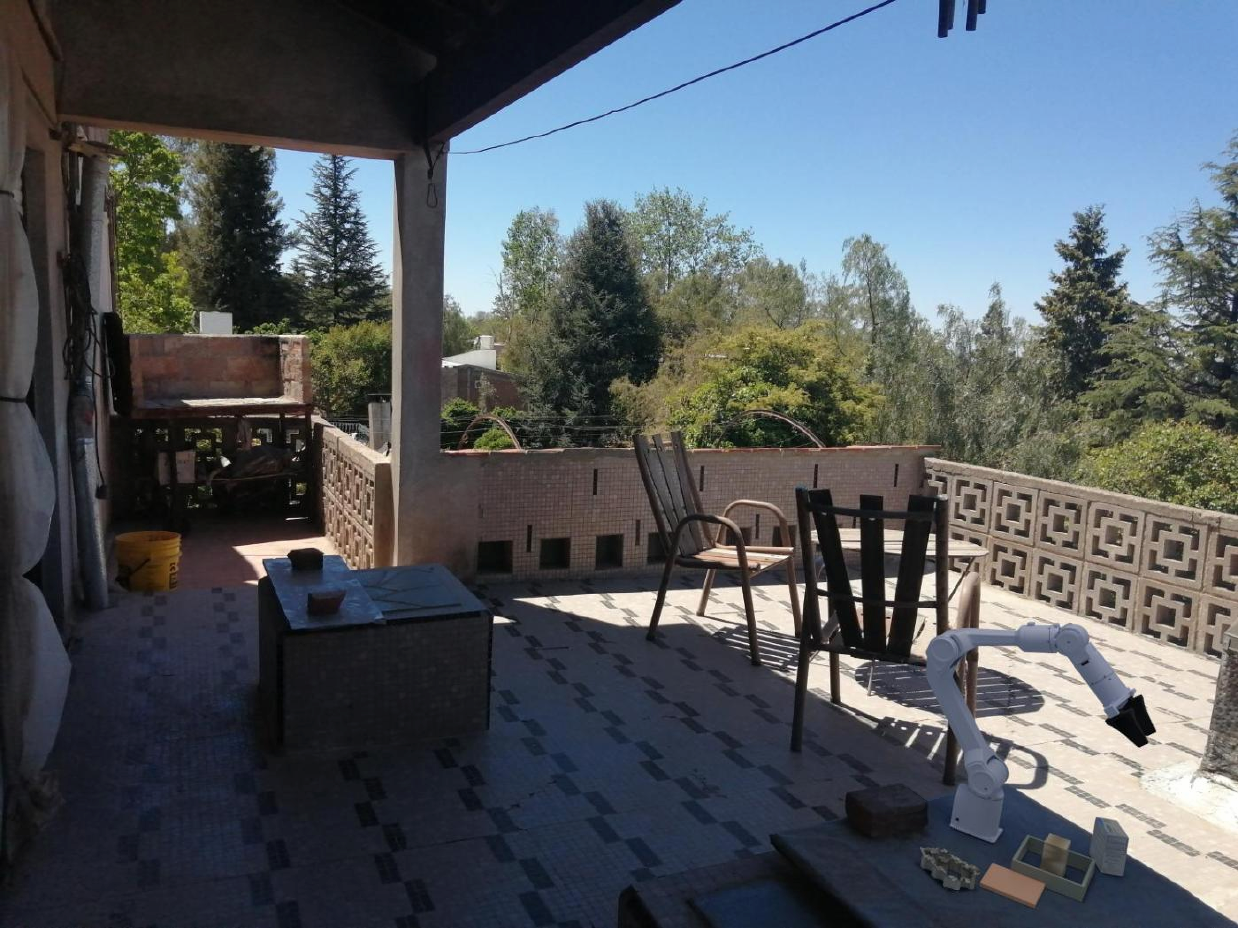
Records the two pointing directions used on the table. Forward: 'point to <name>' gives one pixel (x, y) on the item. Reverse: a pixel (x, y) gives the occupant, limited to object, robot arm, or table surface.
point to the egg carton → (940, 864)
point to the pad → (1012, 885)
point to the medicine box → (1109, 846)
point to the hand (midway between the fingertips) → (1147, 739)
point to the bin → (1048, 878)
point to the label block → (1055, 855)
